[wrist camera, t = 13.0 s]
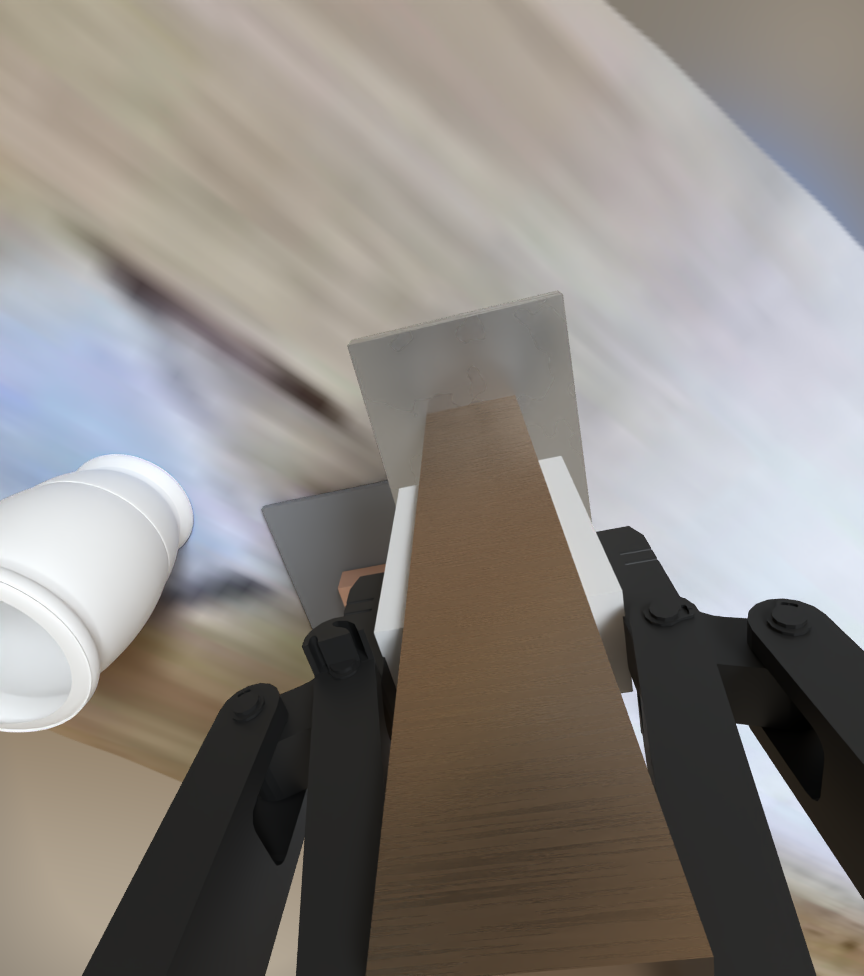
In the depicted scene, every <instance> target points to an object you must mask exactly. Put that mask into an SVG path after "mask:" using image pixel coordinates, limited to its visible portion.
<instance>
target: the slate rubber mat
mask: <svg viewBox="0 0 864 976" xmlns="http://www.w3.org/2000/svg"><path fill="white" fill-rule="evenodd" d="M395 510H396V505H395V502H394V499H393V495H392V492H391V489H390V486H389V482H388V480H387V481H383V482H378V483H373V484H368V485H363V486H358V487H353V488H348V489H344V490H339V491H334V492H329V493H324V494H319V495H314V496H309V497H305V498H300V499H295V500H290V501H285V502H280V503H275V504H270V505H265V506H263V508H262V512H263V514H264V516H265V519H266V521H267V523H268V526H269V528H270V530H271V533H272V535H273V538H274V540H275V542H276V545H277V547H278V549H279V552H280V554H281V556H282V559H283V561H284V563H285V566H286V568H287V570H288V573H289V575H290V577H291V580H292V582H293V584H294V587H295V589H296V591H297V594H298V596H299V598H300V601H301V603H302V605H303V608H304V610H305V612H306V615H307V617H308V620H309V622H310V624H311V627H312V629H314V628H315V627H317V626H318V625H320V624H321V623H323V622H325V621H328V620H330V619H332V618H338V617H343V616H344V610H345V606H344V603H343V601H342V598H341V596H340V593H339V590H338V586H339V582H340V579H341V575H342V572H344V571H349V570H355V569H360V568H366V567H371V566H376V565H382V564H386V561H387V555H388V550H389V544H390V538H391V533H392V527H393V521H394V515H395Z"/></svg>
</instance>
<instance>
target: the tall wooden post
mask: <svg viewBox="0 0 864 976" xmlns="http://www.w3.org/2000/svg"><path fill="white" fill-rule="evenodd" d="M347 346H348V350H349V353H350V356H351V360H352V363H353V366H354V370H355V373H356V376H357V380H358V383H359V386H360V389H361V393H362V396H363V399H364V403H365V406H366V409H367V413H368V416H369V419H370V423H371V426H372V429H373V433H374V436H375V439H376V442H377V446H378V449H379V452H380V456H381V459H382V462H383V466H384V469H385V472H386V476H387V479H388V482H389V486H390V489H391V492H392V495H393V499H394V502H395V505H396V504H397V498H398V493H399V488H404V487H409V486H414V485H419V489H418V498H417V507H416V516H415V526H414V535H413V544H412V553H411V563H410V572H409V581H408V590H407V599H406V609H405V618H404V627H403V636H402V646H401V655H400V664H399V673H398V682H397V692H396V701H395V710H394V719H393V729H392V738H391V747H390V756H389V765H388V775H387V784H386V793H385V802H384V812H383V821H382V830H381V839H380V848H379V858H378V867H377V876H376V885H375V895H374V904H373V913H372V922H371V932H370V941H369V950H368V959H367V968H366V976H714V956H713V954H712V951H711V948H710V945H709V942H708V939H707V937H706V934H705V931H704V928H703V925H702V922H701V920H700V917H699V914H698V911H697V908H696V905H695V903H694V900H693V897H692V894H691V891H690V888H689V886H688V883H687V880H686V877H685V874H684V872H683V869H682V866H681V863H680V860H679V857H678V855H677V852H676V849H675V846H674V843H673V840H672V838H671V835H670V832H669V829H668V826H667V823H666V821H665V818H664V815H663V812H662V809H661V806H660V804H659V801H658V798H657V795H656V792H655V789H654V787H653V784H652V781H651V778H650V775H649V772H648V770H647V767H646V764H645V761H644V758H643V755H642V753H641V750H640V747H639V744H638V741H637V738H636V736H635V733H634V730H633V727H632V724H631V721H630V719H629V716H628V713H627V710H626V707H625V704H624V702H623V699H622V696H621V693H620V690H619V687H618V685H617V682H616V679H615V676H614V673H613V671H612V668H611V665H610V662H609V659H608V656H607V654H606V651H605V648H604V645H603V642H602V639H601V637H600V634H599V631H598V628H597V625H596V622H595V620H594V617H593V614H592V611H591V608H590V605H589V603H588V600H587V597H586V594H585V591H584V588H583V586H582V583H581V580H580V577H579V574H578V571H577V569H576V566H575V563H574V560H573V557H572V554H571V552H570V549H569V546H568V543H567V540H566V537H565V535H564V532H563V529H562V526H561V523H560V520H559V518H558V515H557V512H556V509H555V506H554V503H553V501H552V498H551V495H550V492H549V489H548V487H547V484H546V481H545V478H544V475H543V472H542V470H541V467H540V464H539V461H538V460H543V459H548V458H553V457H558V456H562V458H563V460H564V463H565V465H566V467H567V469H568V472H569V474H570V476H571V478H572V480H573V483H574V485H575V487H576V489H577V492H578V494H579V496H580V498H581V500H582V503H583V505H584V507H585V509H586V511H587V514H588V516H589V518H590V520H591V512H590V504H589V496H588V488H587V480H586V472H585V465H584V457H583V449H582V441H581V433H580V425H579V417H578V410H577V402H576V394H575V386H574V378H573V370H572V362H571V354H570V347H569V339H568V331H567V323H566V315H565V307H564V299H563V294H562V293H560V292H559V291H554V292H550V293H546V294H542V295H537V296H533V297H529V298H525V299H521V300H517V301H512V302H508V303H504V304H500V305H496V306H492V307H487V308H483V309H479V310H475V311H471V312H466V313H462V314H458V315H454V316H450V317H446V318H441V319H437V320H433V321H429V322H425V323H420V324H416V325H412V326H408V327H404V328H400V329H395V330H391V331H387V332H383V333H379V334H375V335H370V336H366V337H362V338H358V339H354V340H351V341H350V343H349V344H348V345H347ZM591 523H592V520H591Z"/></svg>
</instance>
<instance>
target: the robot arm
mask: <svg viewBox="0 0 864 976" xmlns="http://www.w3.org/2000/svg"><path fill="white" fill-rule="evenodd" d="M538 461H539V464H540V467H541V470H542V472H543V475H544V478H545V481H546V484H547V487H548V489H549V492H550V495H551V498H552V501H553V503H554V506H555V509H556V512H557V515H558V518H559V520H560V523H561V526H562V529H563V532H564V535H565V537H566V540H567V543H568V546H569V549H570V552H571V554H572V557H573V560H574V563H575V566H576V569H577V571H578V574H579V577H580V580H581V583H582V586H583V588H584V591H585V594H586V597H587V600H588V603H589V605H590V608H591V611H592V614H593V617H594V620H595V622H596V625H597V628H598V631H599V634H600V637H601V639H602V642H603V645H604V648H605V651H606V654H607V656H608V659H609V662H610V665H611V668H612V671H613V673H614V676H615V679H616V682H617V685H618V687H619V690H620V693H626V692H633V688H632V679H633V682H634V685H635V687H636V690H637V697H638V707H639V717H640V727H641V733H642V735H643V742H644V748H645V755H646V762H647V769H648V772H649V775H650V778H651V781H652V784H653V787H654V789H655V792H656V795H657V798H658V801H659V804H660V806H661V809H662V812H663V815H664V818H665V821H666V823H667V826H668V829H669V832H670V835H671V838H672V840H673V843H674V846H675V849H676V852H677V855H678V857H679V860H680V863H681V866H682V869H683V872H684V874H685V877H686V880H687V883H688V886H689V888H690V891H691V894H692V897H693V900H694V903H695V905H696V908H697V911H698V914H699V917H700V920H701V922H702V925H703V928H704V931H705V934H706V937H707V939H708V942H709V945H710V948H711V951H712V954H713V956H714V976H816V973H815V970H814V967H813V964H812V960H811V957H810V954H809V951H808V948H807V945H806V942H805V939H804V935H803V932H802V929H801V926H800V923H799V920H798V917H797V914H796V910H795V907H794V904H793V901H792V898H791V895H790V892H789V889H788V885H787V882H786V879H785V876H784V873H783V870H782V867H781V864H780V860H779V857H778V854H777V851H776V848H775V845H774V842H773V839H772V835H771V832H770V829H769V826H768V823H767V820H766V817H765V814H764V810H763V807H762V804H761V801H760V798H759V795H758V792H757V789H756V785H755V782H754V779H753V776H752V773H751V770H750V767H749V764H748V760H747V757H746V754H745V751H744V748H743V745H742V742H741V739H740V735H739V732H738V729H737V726H736V723H737V724H745V725H749V727H750V729H751V730H752V732H753V733H754V735H755V736H756V738H757V740H758V741H759V743H760V744H761V746H762V747H763V749H764V750H765V752H766V753H767V755H768V756H769V758H770V759H771V761H772V762H773V764H774V765H775V767H776V768H777V770H778V771H779V773H780V774H781V776H782V777H783V779H784V780H785V782H786V783H787V785H788V786H789V788H790V789H791V791H792V792H793V794H794V795H795V797H796V798H797V800H798V801H799V803H800V804H801V806H802V807H803V809H804V810H805V812H806V813H807V815H808V816H809V818H810V819H811V821H812V822H813V824H814V825H815V827H816V828H817V830H818V832H819V833H820V835H821V836H822V838H823V839H824V841H825V842H826V844H827V845H828V847H829V848H830V850H831V851H832V853H833V854H834V856H835V857H836V859H837V860H838V862H839V863H840V865H841V866H842V868H843V869H844V871H845V872H846V874H847V875H848V877H849V878H850V880H851V881H852V883H853V884H854V886H855V887H856V889H857V890H858V892H859V893H860V895H861V896H862V898H863V899H864V651H863V650H862V649H861V648H860V647H859V646H858V645H857V644H856V643H855V642H854V641H853V640H852V639H851V638H850V637H849V636H848V635H846V634H845V633H844V632H843V631H842V630H841V629H840V628H839V627H838V626H837V625H836V624H835V623H834V622H833V621H832V620H831V619H830V618H829V617H828V616H827V615H826V614H824V613H823V612H821V611H820V610H818V609H817V608H815V607H814V606H811V605H809V604H806V603H803V602H801V601H796V600H789V599H770V600H766V601H763V602H760V603H757V604H756V605H755V606H754V607H752V608H751V609H750V610H749V613H748V618H732V617H720V616H713V615H709V614H706V613H702V612H700V611H699V610H698V609H697V607H696V606H695V605H694V604H693V603H691V602H690V601H688V600H687V599H685V598H682V597H680V596H679V594H678V593H677V591H676V589H675V588H674V586H673V584H672V583H671V581H670V579H669V577H668V576H667V574H666V572H665V571H664V569H663V567H662V566H661V564H660V562H659V561H658V560H657V557H656V555H655V554H654V552H653V550H651V547H650V545H649V544H648V542H647V540H646V539H645V537H644V535H642V534H641V533H639V532H638V531H636V530H634V529H633V528H631V527H630V526H626V527H621V528H615V529H610V530H604V531H599V532H596V531H595V529H594V527H593V525H592V523H591V520H590V518H589V516H588V514H587V511H586V509H585V507H584V505H583V503H582V500H581V498H580V496H579V494H578V492H577V489H576V487H575V485H574V483H573V480H572V478H571V476H570V474H569V472H568V469H567V467H566V465H565V463H564V460H563V458H562V456H558V457H553V458H548V459H543V460H538ZM418 489H419V485H414V486H409V487H404V488H399V493H398V498H397V504H396V510H395V515H394V521H393V527H392V533H391V538H390V544H389V550H388V555H387V561H386V567H385V572H382V573H376V574H371V575H365V576H360V577H359V578H358V580H357V581H356V582H355V584H354V585H353V586H352V587H351V589H350V590H349V594H348V598H347V602H346V604H347V605H346V606H345V610H344V616H343V617H338V618H332V619H330V620H328V621H325V622H323V623H321V624H320V625H318V626H317V627H315V628H314V629H312V630H311V632H310V633H309V634H308V635H307V636H306V638H305V639H304V642H303V645H302V648H303V650H304V653H305V655H306V657H307V659H308V662H309V664H310V666H311V668H312V671H313V673H314V675H315V678H314V679H313V680H311V681H310V682H308V683H306V684H304V685H302V686H300V687H297V688H295V689H292V690H290V691H288V692H285V693H283V694H279V692H278V690H277V688H276V687H274V686H273V685H271V684H266V683H259V684H255V685H251V686H248V687H246V688H244V689H242V690H240V691H238V692H237V693H236V694H234V695H233V696H232V697H231V698H230V699H228V700H227V701H226V703H225V704H224V706H223V707H222V708H221V710H220V711H219V713H218V715H217V717H216V719H215V721H214V723H213V725H212V727H211V729H210V731H209V732H208V734H207V736H206V738H205V740H204V742H203V744H202V746H201V748H200V750H199V752H198V754H197V755H196V757H195V759H194V761H193V763H192V765H191V767H190V769H189V771H188V773H187V775H186V777H185V779H184V780H183V782H182V784H181V786H180V788H179V790H178V792H177V794H176V796H175V798H174V800H173V802H172V804H171V805H170V807H169V809H168V811H167V813H166V815H165V817H164V819H163V821H162V823H161V825H160V827H159V828H158V830H157V832H156V834H155V836H154V838H153V840H152V842H151V844H150V846H149V848H148V850H147V852H146V853H145V855H144V857H143V859H142V861H141V863H140V865H139V867H138V869H137V871H136V873H135V875H134V877H133V878H132V880H131V882H130V884H129V886H128V888H127V890H126V892H125V894H124V896H123V898H122V900H121V902H120V903H119V905H118V907H117V909H116V911H115V913H114V915H113V917H112V919H111V921H110V923H109V925H108V927H107V929H106V930H105V932H104V934H103V936H102V938H101V940H100V942H99V944H98V946H97V948H96V949H95V951H94V953H93V955H92V957H91V959H90V961H89V963H88V965H87V967H86V969H85V971H84V973H83V975H82V976H265V974H266V970H267V967H268V963H269V960H270V956H271V952H272V949H273V946H274V942H275V939H276V935H277V931H278V928H279V925H280V921H281V918H282V914H283V911H284V907H285V904H286V900H287V897H288V893H289V890H290V886H291V882H292V879H293V876H294V872H295V869H296V865H297V862H298V858H299V855H300V851H301V848H302V844H303V840H304V837H305V841H304V856H303V872H302V888H301V905H300V920H299V921H300V922H299V936H298V952H297V968H296V976H366V968H367V959H368V950H369V941H370V932H371V922H372V913H373V904H374V895H375V885H376V876H377V867H378V858H379V848H380V839H381V830H382V821H383V812H384V802H385V793H386V784H387V775H388V765H389V756H390V747H391V738H392V729H393V719H394V710H395V701H396V692H397V682H398V673H399V664H400V655H401V646H402V636H403V627H404V618H405V609H406V599H407V590H408V581H409V572H410V563H411V553H412V544H413V535H414V526H415V516H416V507H417V498H418ZM631 677H632V678H631Z"/></svg>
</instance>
